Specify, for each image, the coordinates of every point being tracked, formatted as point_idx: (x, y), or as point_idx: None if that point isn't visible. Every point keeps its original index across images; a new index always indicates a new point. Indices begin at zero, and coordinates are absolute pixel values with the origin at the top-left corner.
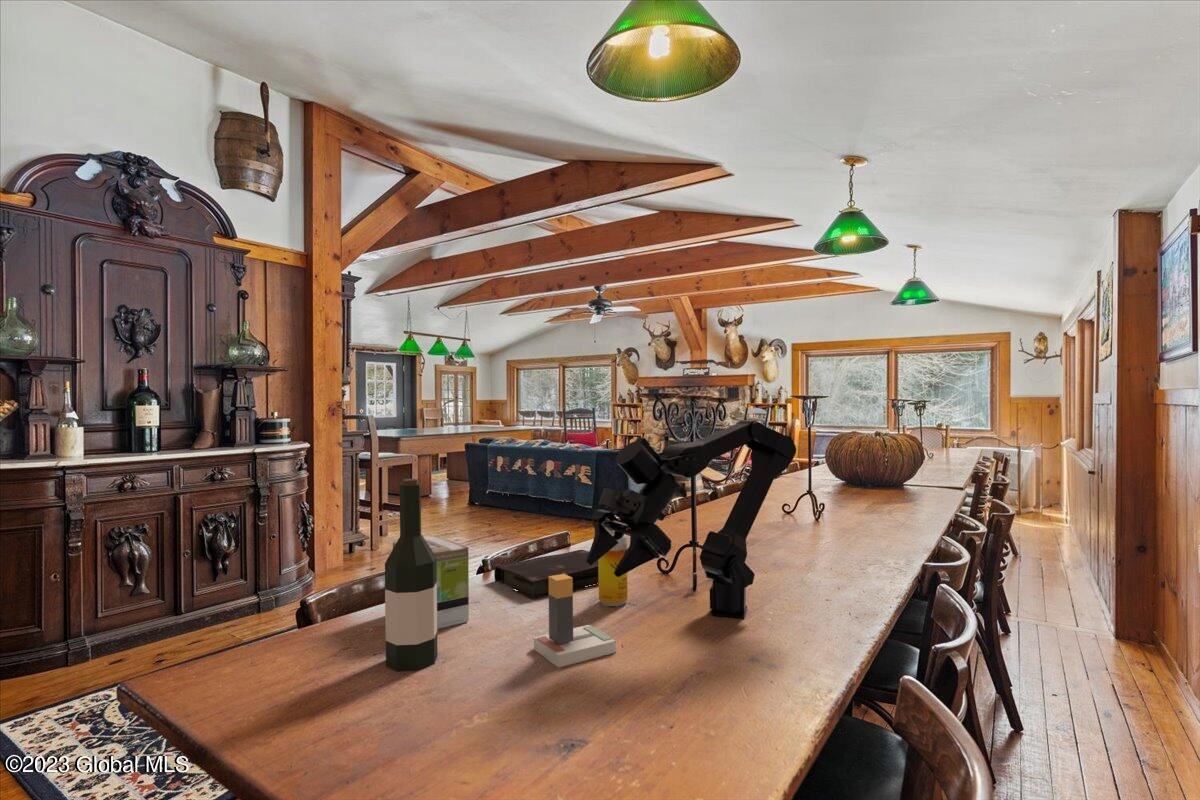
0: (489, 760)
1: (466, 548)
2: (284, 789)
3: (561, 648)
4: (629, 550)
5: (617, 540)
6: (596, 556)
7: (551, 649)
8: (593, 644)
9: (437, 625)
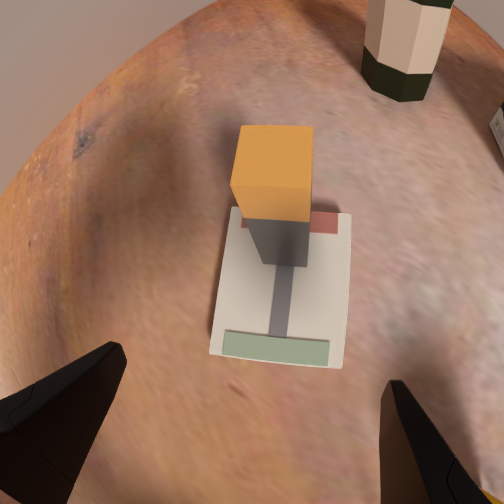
0: (124, 85)
1: None
2: (208, 5)
3: None
4: (13, 407)
5: None
6: (387, 446)
7: None
8: (225, 298)
9: (500, 141)
